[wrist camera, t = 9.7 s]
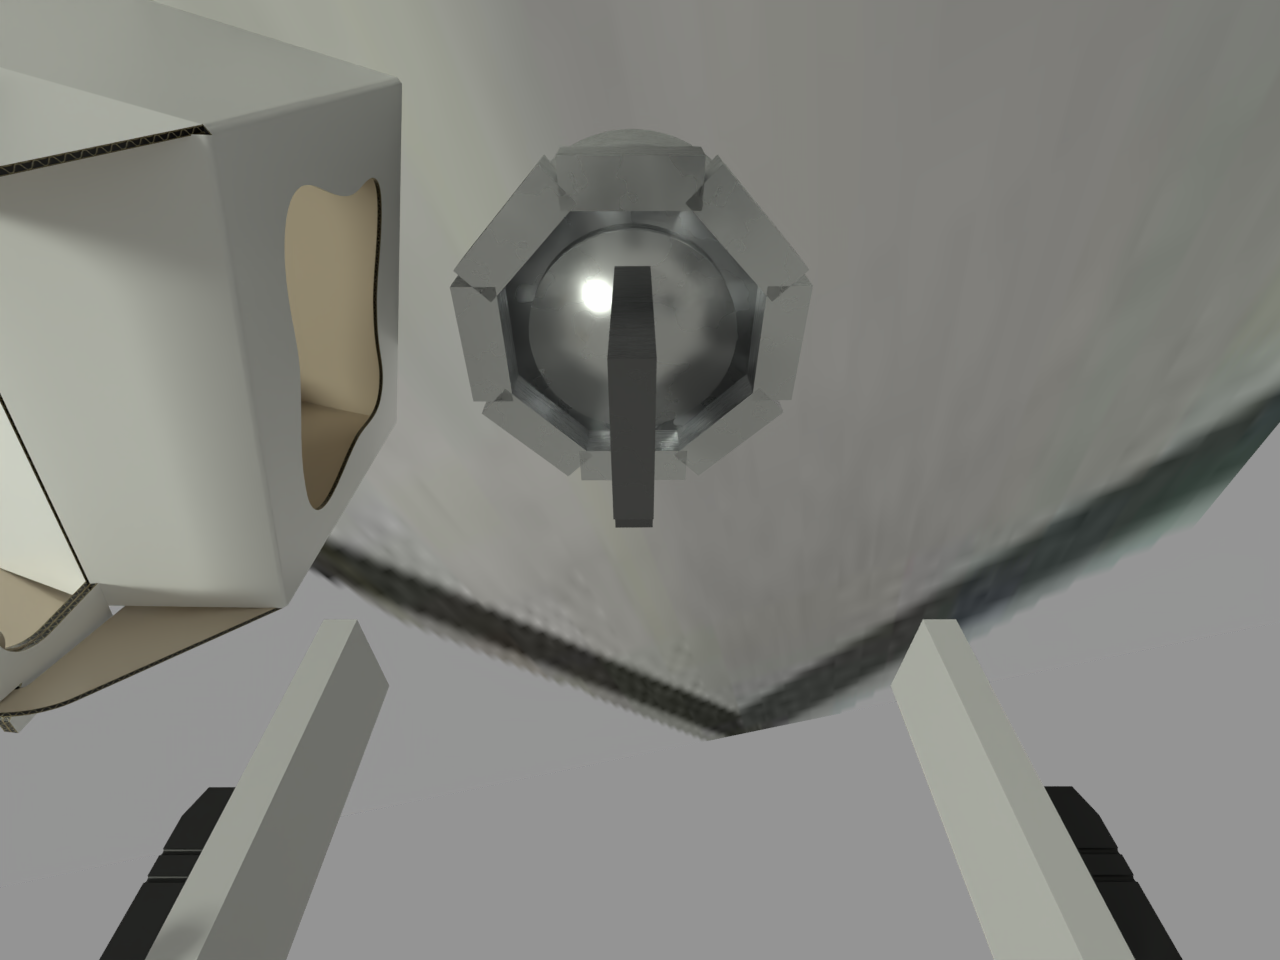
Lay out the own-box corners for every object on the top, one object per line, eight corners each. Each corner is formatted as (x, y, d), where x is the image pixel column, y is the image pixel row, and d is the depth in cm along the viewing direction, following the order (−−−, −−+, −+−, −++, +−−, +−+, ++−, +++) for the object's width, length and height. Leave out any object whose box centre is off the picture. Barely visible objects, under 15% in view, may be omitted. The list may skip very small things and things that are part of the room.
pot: (780, 117, 31) (837, 155, 22) (738, 446, 44) (763, 549, 36) (481, 118, 31) (422, 155, 22) (529, 447, 44) (504, 550, 36)
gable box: (115, -18, 27) (-1981, -173, 5) (403, 73, 30) (-252, 221, 8) (203, 383, 41) (-300, 807, 19) (397, 424, 43) (151, 846, 21)
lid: (744, 222, 26) (794, 313, 18) (724, 414, 32) (754, 545, 24) (519, 223, 26) (467, 314, 18) (543, 415, 32) (512, 546, 24)
